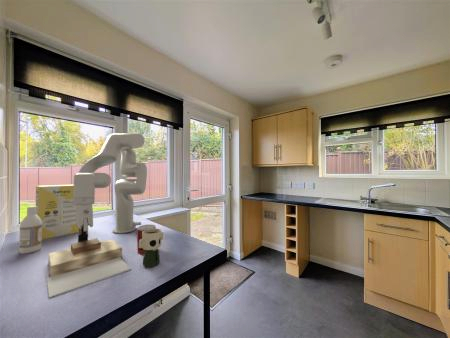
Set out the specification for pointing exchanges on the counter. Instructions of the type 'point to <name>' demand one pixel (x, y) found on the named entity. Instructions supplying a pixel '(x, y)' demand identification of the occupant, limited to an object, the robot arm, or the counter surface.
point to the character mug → (151, 246)
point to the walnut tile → (85, 246)
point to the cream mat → (85, 276)
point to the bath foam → (30, 232)
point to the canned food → (139, 236)
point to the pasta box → (56, 210)
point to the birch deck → (82, 258)
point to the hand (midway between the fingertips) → (82, 243)
